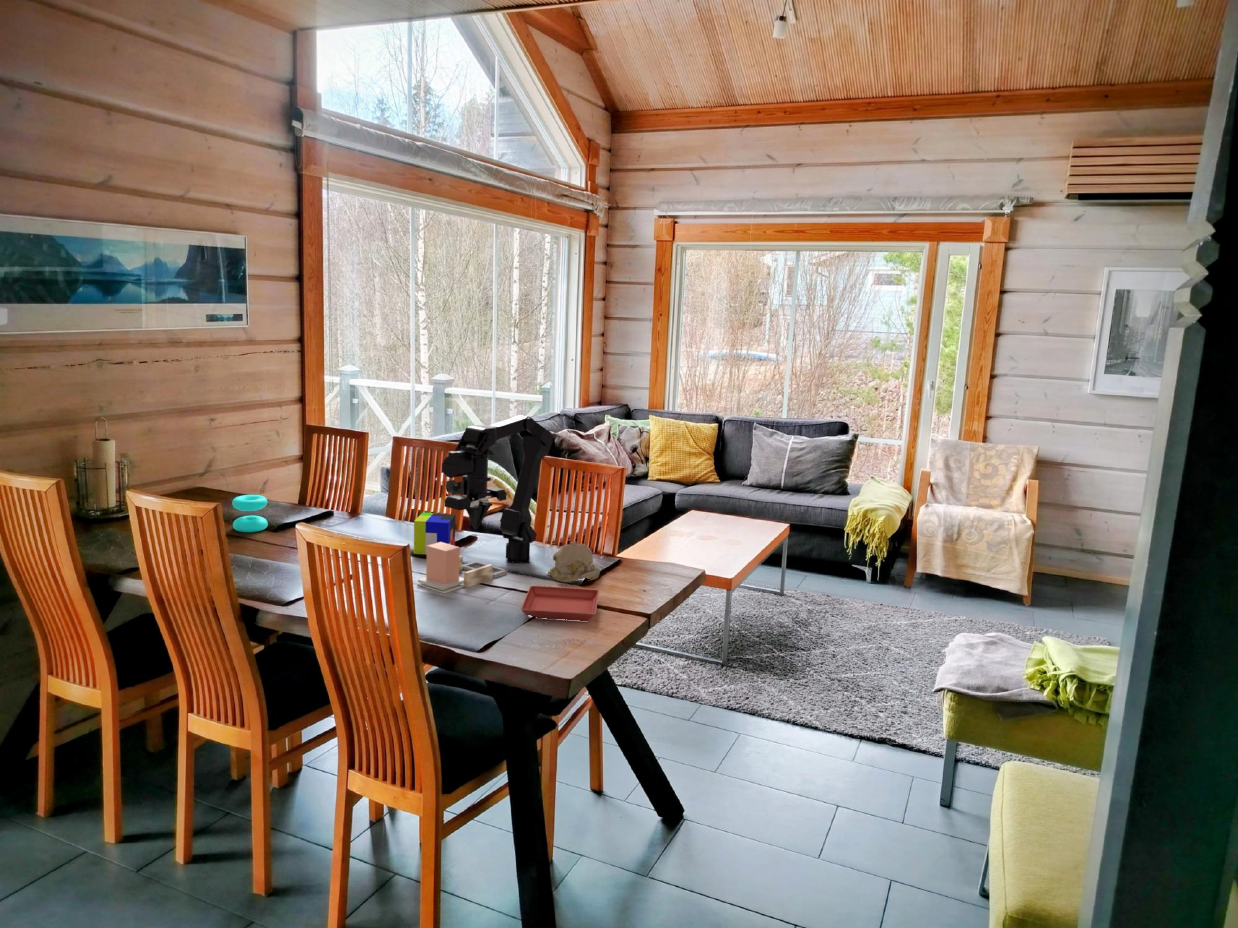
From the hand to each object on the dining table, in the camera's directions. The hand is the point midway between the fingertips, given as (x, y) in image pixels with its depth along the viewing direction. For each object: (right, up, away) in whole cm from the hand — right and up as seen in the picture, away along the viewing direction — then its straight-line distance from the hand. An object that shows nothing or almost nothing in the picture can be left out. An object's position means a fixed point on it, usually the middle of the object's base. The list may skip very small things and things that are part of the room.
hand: (475, 528), depth 238 cm
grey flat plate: (+1, -12, +5) cm, 14 cm away
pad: (-8, -14, -8) cm, 18 cm away
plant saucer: (+25, -19, -20) cm, 37 cm away
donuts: (-75, -3, +33) cm, 82 cm away
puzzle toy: (-16, -8, +23) cm, 29 cm away
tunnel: (-3, -13, -1) cm, 14 cm away
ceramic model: (+26, -14, +7) cm, 31 cm away
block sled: (-7, -14, -8) cm, 17 cm away
